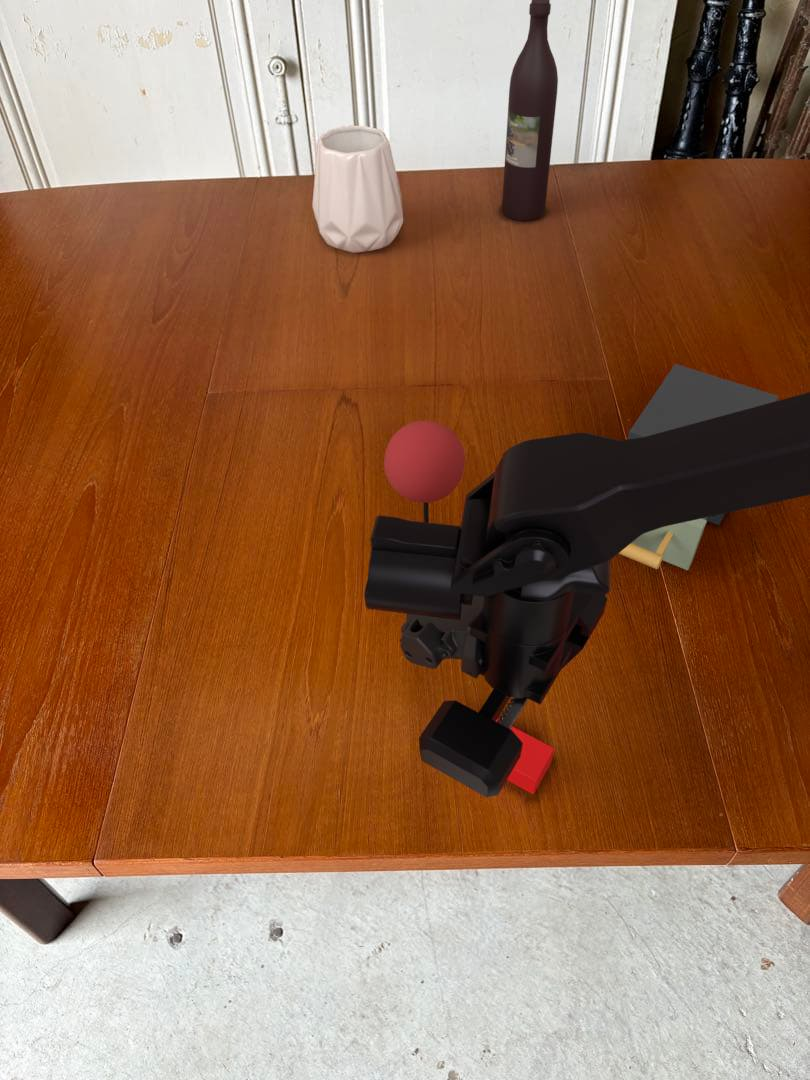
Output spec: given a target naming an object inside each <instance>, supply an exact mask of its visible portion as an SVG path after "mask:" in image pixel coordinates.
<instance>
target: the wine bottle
mask: <svg viewBox="0 0 810 1080" xmlns="http://www.w3.org/2000/svg"><path fill="white" fill-rule="evenodd" d="M550 1H551V0H531V1H530V2H531V3H530V4H529V8H528V14H529V29H528V34H527V38H526V41H525V43H524V45H523V48H522V49H521V51H520V53H519V54H518V57H517V58H516V61H515V63H514V65H513V67H512V70H511V76H510V82H509V89H508V105H507V121H506V135H505V136H506V137H505V153H504V168H503V169H504V170H503V185H502V198H501V199H502V200H501V211H502V213H503V215H504V216H506V217H507V218H509V219H511V220H515V221H522V222H523V221H533V220H536V219H539V218H540V217H542V216H543V215H544V213H545V211H546V204H547V195H548V186H549V176H550V175H549V174H550V165H551V157H552V148H553V147H552V146H553V138H554V137H553V135H554V129H555V128H554V127H555V126H554V125H555V119H556V118H555V117H556V107H557V99H558V98H557V97H558V87H559V76H558V67H557V64H556V61H555V57H554V54H553V52H552V50H551V47H550V43H549V40H548V39H549V37H548V23H549V16H550V14H551V7H552V4H551V2H550Z"/></svg>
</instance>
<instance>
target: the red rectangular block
mask: <svg viewBox="0 0 810 1080" xmlns="http://www.w3.org/2000/svg"><path fill="white" fill-rule="evenodd" d="M498 720H500V718H497V720H496V722H497V721H498ZM511 730H512V731H513V732H514V733H515V734H516V736H517V737H518V738H519V739H520V740H521V741H522V743H523V746H522V751H521V753H520V754H521V757H520V758H519V760H518V762H517V763H516V765H515V767H514V769H513V770H512V772H511V774H510V775H509V777H508V779H507V782H510V783H511V784H513V785H515V786H517V787H519V788H520V789H523V790H524V791H526V792H528V793H530V794H532V795H534V794H535V793H536V791H537V789H538V788H539V785H540V784H541V782H542V781H543V778H544V776H545V775H546V773H547V771H548V769H549V768H550V765H551V764H552V760H553V757H554V753H555V748H554V747H552V746H550V745H549V744H547V743H545V742H543V741H541V740H539V739H538V738H535V737H533V736H532V735H529V734H527V733H525V732H524V731H522V730H520V729H518V728H516V727H514V725H513V726H512V727H511Z"/></svg>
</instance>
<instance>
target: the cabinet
mask: <svg viewBox="0 0 810 1080" xmlns="http://www.w3.org/2000/svg"><path fill="white" fill-rule="evenodd" d="M778 399H779V395H776V394H773V393H771V392H768V391H765V390H764V391H763V390H761V389H758V388H754V387H751V386H747V385H745V384H741V383H737V382H734V381H732V380H729V379H726V378H722V377H719V376H716V375H714V374H713V375H712V374H709V373H706V372H704V371H700V370H697V369H694V368H690V367H687V366H685V365H681V364H677V363H674V364H673V366H672V368H671V369H670V370H669V372H668V373H667V375H666V377H664V380H663V381H662V382H661V384H660V385H659V387H658V389H657V390H656V391H655V393H654V394H653V395H652V397H651V399H650V400H649V402H648V403H647V404H646V406H645V407H644V409H643V410H642V412H641V413H640V415H639V417H638V418H637V419H636V420H635V421H634V424H633V425H632V427H631V428H630V429H629V432H628V435H627V439H635V438H642V437H646V436H650V435H653V434H657V433H661V432H664V431H668V430H672V429H675V428H679V427H683V426H686V425H690V424H694V423H698V422H701V421H705V420H709V419H712V418H716V417H720V416H723V415H727V414H731V413H734V412H738V411H742V410H745V409H749V408H753V407H757V406H760V405H764V404H768V403H771V402H775V401H778ZM725 515H726V513H724V514H720V515H715V516H710V517H707V519H706V520H707V522H709V523H712V524H714V525H717V526H720V524H721V522H722V520H723V518H724V516H725Z"/></svg>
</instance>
